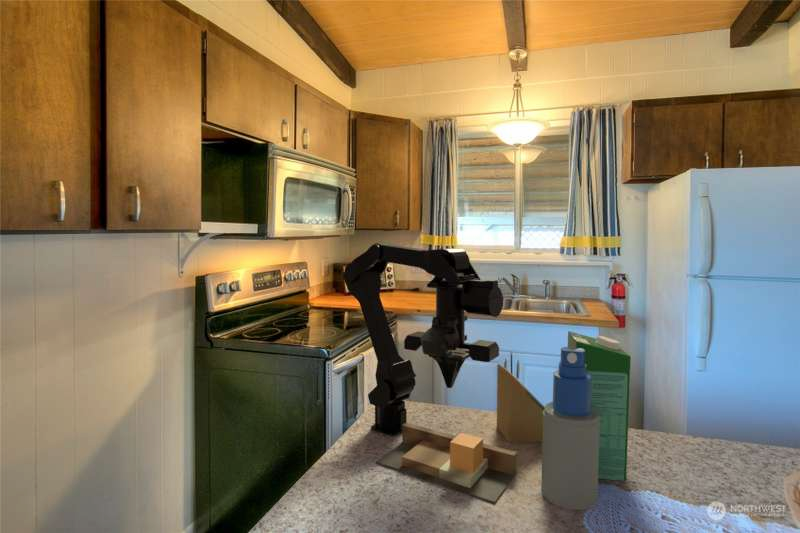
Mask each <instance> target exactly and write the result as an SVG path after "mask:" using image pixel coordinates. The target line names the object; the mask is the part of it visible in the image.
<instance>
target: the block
mask: <svg viewBox="0 0 800 533" xmlns="http://www.w3.org/2000/svg"><path fill="white" fill-rule="evenodd" d="M455 436H456V437H455V438H454V439H453V440H452V441H451V442H450V466H451V467H455V468H458V469H461V470H464V471H467V472H471V473H474V472H475V470H476V469H477V468H478V467H479V466H480V465H481V464H482V463H483V443H484V437H483V438H482V437H478V436H474V435H471V434H468V433H467V434H466V433H464V432H463V433H462V432H460V433H458V434H457V435H455Z"/></svg>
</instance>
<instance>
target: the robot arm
mask: <svg viewBox="0 0 800 533" xmlns="http://www.w3.org/2000/svg"><path fill="white" fill-rule="evenodd" d="M389 263H392V264H396V265H397V264H398V265H402V266H406V267H407V266H408V267H414V268H419V269H421V270H423V271H425V272H426V273H427V274H430V275H432V276H434V277H433V278H432V280H430V281H429V282H428V283H427V284H426V287H427V288H429V289H430V288H431V289H435V316H433V317H432V320H431V321H432V322H431V326H430V328H428V329H427V330H426V331H416V332H412V333H409V334H407V335H406V336H405V338H404V340H403V341H404V342H403V348H404V350H407V351H415V352H416V351H418V350H419V349H420V348H421V349H422V353H423V354H424V355H426V356H427V355H428V357H429V358H432V359H433V360H434V361H435V362H436V363H437V365H438V367H439V370H440V371H441V374H442V377H443V380H444V383H445V386H446V388H448V389H451V388H453V387H454V384H455V382H456V380H457V378H458V375H459V374H460V371H461V368H462V366H463V364H464V363H465V361H466V360H467V359H469V358H470V359H471V360H472V361H477V362H483V363H490V362H491V361H493V360H495V359H496V358H497V357H499V356H500V347H499V345H498V342H497V341H491V340H486V339H478V340H476V341H474V342H472V343H469V342H466V341H467V340H468V335H467V334H466V333H465V329H466V328H465V322H466V321H468V315H467V314H469V315H476V316H477V315H478V316H485V317H492V318H497V317H498V316H500V314H501V312H502V311H503V307H504V301H505V300H504V296H503V292H502V290H501V288H500V286H499V281H498V280H497V279H489V280H485V279H484V280H482V279H481V278H480V276H479V274H478V273H477V271H476V270H475V268H474V266H473V265H472V263H471V261H470V257H469V255H468V253H467V251H466V250H464V249H463V248H458V247H456V248H437V249H424V248H417V247H410V246H403V245H395V244H391V243H388V242H381V243H379V242H376V243H373V244H372V245H370V246H369V247H368V249H367V250H366V251H364V252H363V253H362V254H360V255H358V256H357V257H356V258H354V259H353V260H352V261H351V262H350V263H347V265H346V266H345V268H344V271H342V277H343V282H344V283H345V285H346V288H347V291H348V292H349V293H350V294H351V295H352V297H353V298H355V299H356V300H357V302H358V303H359V305H360V309H361V313H362V316H363V319H364V322H365V325H366V328H367V331H368V334H369V337H370V341H371V344H372V348H373V351H374V353H375V357H376V360H377V364H376V368H375V369H376V370H375V381H376V382H375V383H376V386H375V387H374V388H373V389H372V390H371V391H370V392H368V394H367V398H368V400H369V404H370V405H372V406H374V424H373V425H371V426H370V430H373V431H377V432H379V433H383V434H386V435H390V436H396V435H398V434H399V433H400V432H402V425H403V424H405V423H408V421H407V418H408V417H407V414H408V413H407V411H408V410H407V408H406V400H407V399H410V396H411V395H412V394H411V393H412V392H413V391H414V389H415V386H416V378H415V377H417V375H416V373H415V371H414V369H413V365H412V364H413V363H412V361H411V359H406V360H405V359H404V358H403V357H402V356H401V355H400V354H399V352H398V349H397V345H396V342H395V339H394V337H393V334H392V331H391V328H390V324H389V321H388V318H387V315H386V312H385V309H384V306H383V302H382V300H381V295H380V293H381V287H382V282H383V281H382V277H381V275H382V274H384V272H386V270H387V267H388V264H389ZM465 312H466V313H465Z"/></svg>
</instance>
